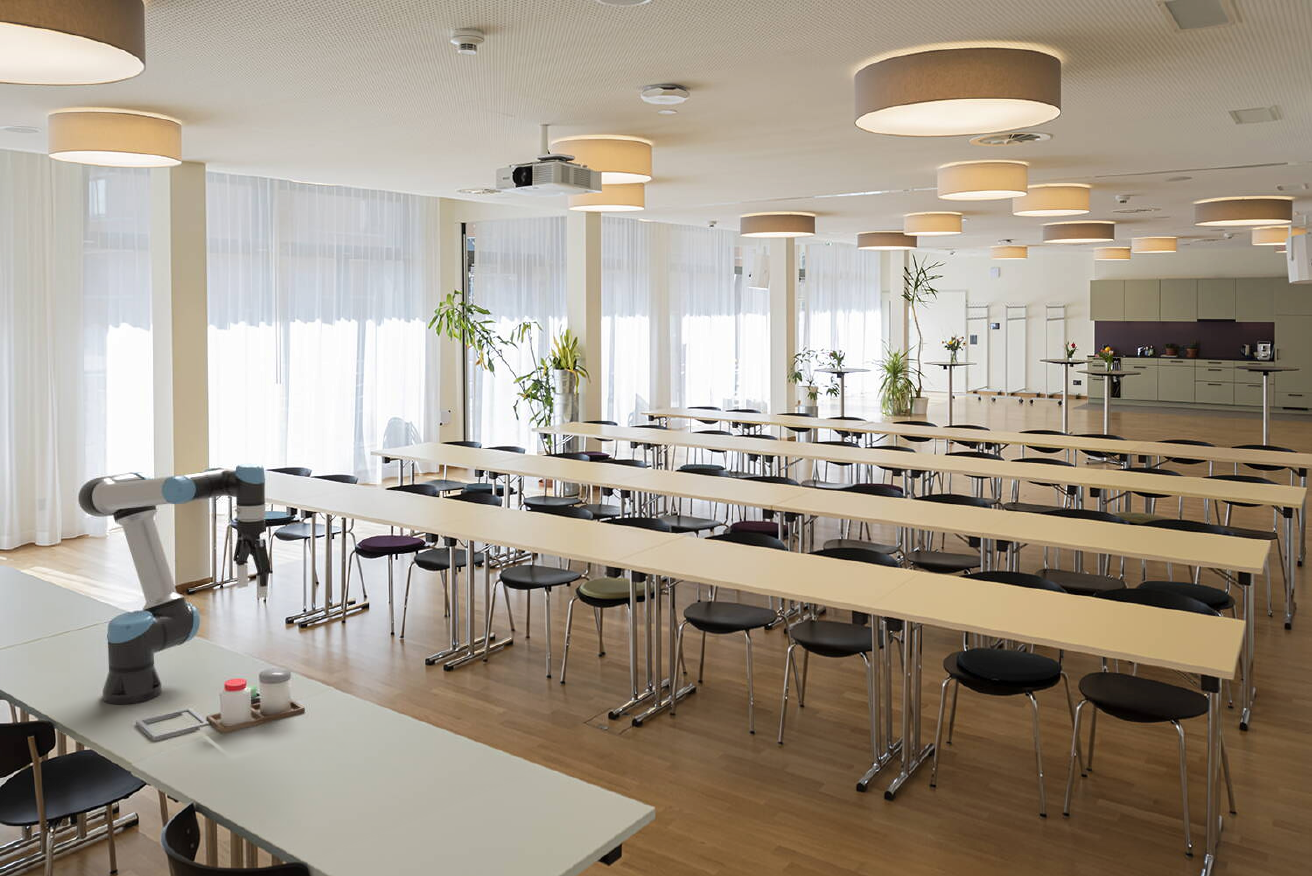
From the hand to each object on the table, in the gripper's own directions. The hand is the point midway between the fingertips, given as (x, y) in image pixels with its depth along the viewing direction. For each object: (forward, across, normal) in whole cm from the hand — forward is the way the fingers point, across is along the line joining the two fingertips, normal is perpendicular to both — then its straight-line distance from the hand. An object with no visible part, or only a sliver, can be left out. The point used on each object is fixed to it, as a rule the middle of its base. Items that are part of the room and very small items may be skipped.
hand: (252, 592), depth 284 cm
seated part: (+31, +14, 0) cm, 34 cm away
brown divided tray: (+32, +14, -5) cm, 35 cm away
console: (+32, +4, -3) cm, 32 cm away
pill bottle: (+31, +14, -11) cm, 36 cm away
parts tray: (+32, +5, -24) cm, 40 cm away
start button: (+31, +4, -3) cm, 31 cm away
